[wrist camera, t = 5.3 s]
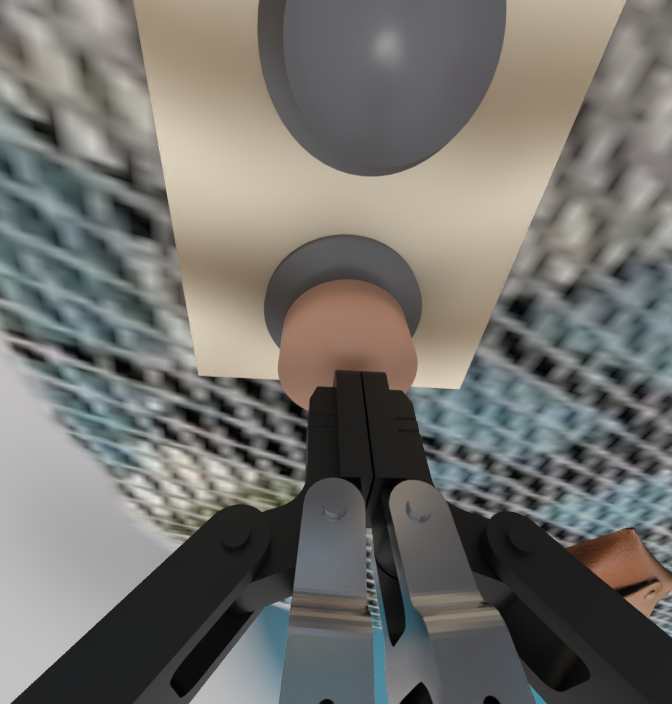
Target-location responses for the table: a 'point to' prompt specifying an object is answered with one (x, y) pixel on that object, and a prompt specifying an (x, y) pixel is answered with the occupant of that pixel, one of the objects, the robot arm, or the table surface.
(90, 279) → the table surface
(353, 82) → the charcoal button
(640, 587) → the sunglasses case
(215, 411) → the table surface
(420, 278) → the button board
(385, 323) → the terracotta button
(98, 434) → the table surface
